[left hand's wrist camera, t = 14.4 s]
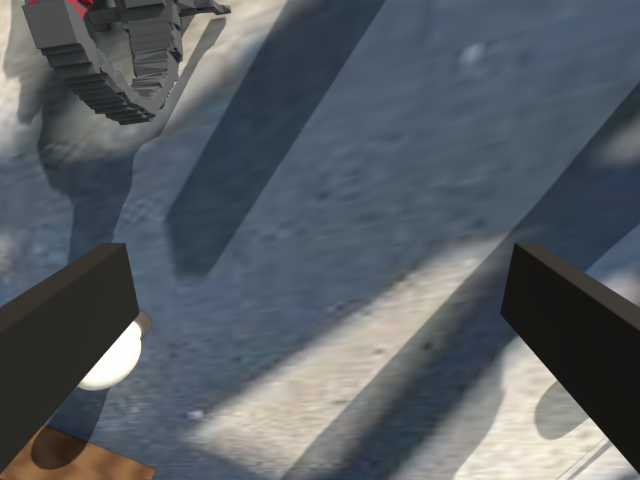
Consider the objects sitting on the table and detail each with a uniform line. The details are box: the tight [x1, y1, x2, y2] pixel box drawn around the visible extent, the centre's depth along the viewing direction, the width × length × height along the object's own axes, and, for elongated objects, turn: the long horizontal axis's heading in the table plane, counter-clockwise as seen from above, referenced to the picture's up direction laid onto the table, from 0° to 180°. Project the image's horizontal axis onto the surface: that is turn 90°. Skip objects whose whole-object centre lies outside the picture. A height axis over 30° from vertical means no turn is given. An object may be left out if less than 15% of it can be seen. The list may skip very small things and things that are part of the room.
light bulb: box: [78, 311, 151, 390], centre depth 42 cm, size 7×7×11 cm
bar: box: [0, 425, 156, 480], centre depth 52 cm, size 24×5×8 cm, turn 59°
